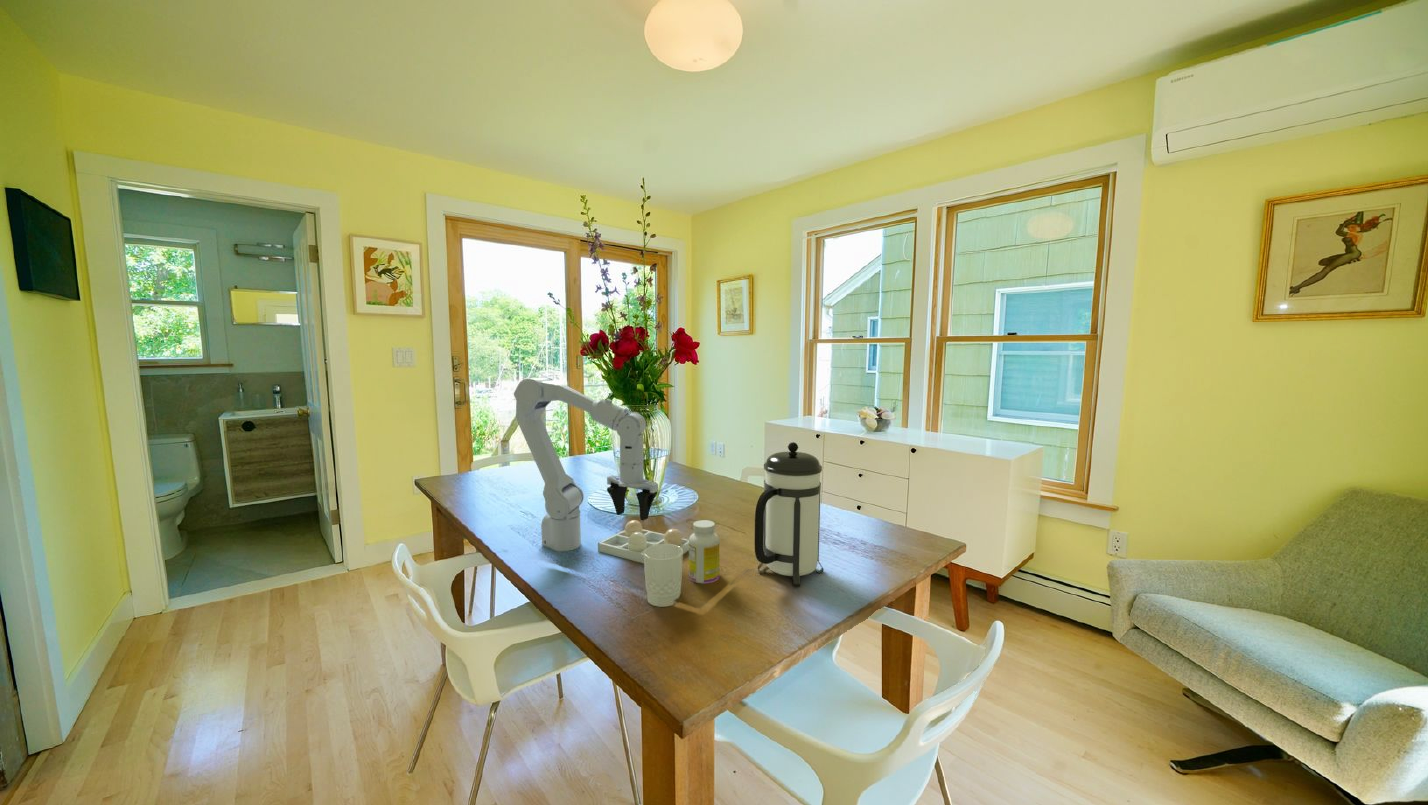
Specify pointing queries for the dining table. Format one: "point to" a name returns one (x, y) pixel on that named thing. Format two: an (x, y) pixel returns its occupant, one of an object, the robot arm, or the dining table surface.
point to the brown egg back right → (673, 537)
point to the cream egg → (637, 542)
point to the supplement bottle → (704, 553)
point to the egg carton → (620, 548)
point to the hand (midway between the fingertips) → (632, 516)
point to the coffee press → (789, 515)
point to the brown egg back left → (632, 527)
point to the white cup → (663, 574)
